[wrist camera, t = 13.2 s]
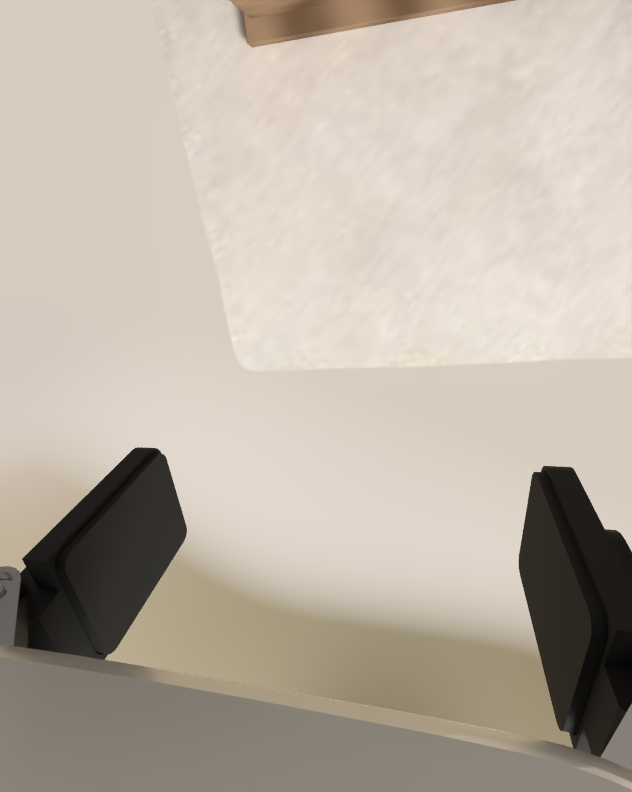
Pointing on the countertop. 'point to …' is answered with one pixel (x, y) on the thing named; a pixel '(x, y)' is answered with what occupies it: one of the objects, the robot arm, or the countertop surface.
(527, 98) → the countertop surface
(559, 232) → the countertop surface
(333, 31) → the caddy
